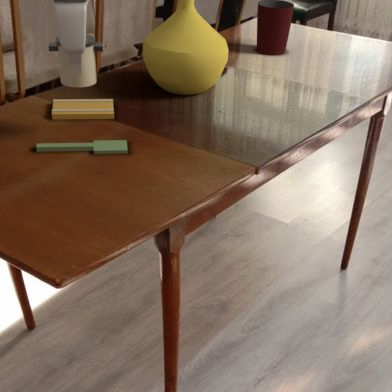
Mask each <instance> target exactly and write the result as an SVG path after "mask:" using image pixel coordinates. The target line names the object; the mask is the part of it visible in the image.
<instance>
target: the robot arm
mask: <svg viewBox="0 0 392 392" xmlns="http://www.w3.org/2000/svg"><path fill="white" fill-rule="evenodd" d="M90 1H91V0H52V5H53V6H52V7H53V12H54V18H55V24H56V30H57V34H58V36H59V39H60V44H61V48H62V51H63V52H64V53H66V54H69V58H70V62H71V71H72V73H73V74H81V73H82V61H81V56H82V53H84V52H85V44H86V34H87V18H88V17H87V16H88V15H87V14H88V4H89V3H90Z"/></svg>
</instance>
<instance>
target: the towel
mask: <svg viewBox="0 0 392 392" xmlns="http://www.w3.org/2000/svg"><path fill="white" fill-rule="evenodd" d="M51 119H52V120H115V109H114V98H80V99H79V98H66V99H65V98H64V99H63V98H62V99H61V98H59V99H57V98H53V100H52V109H51Z"/></svg>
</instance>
